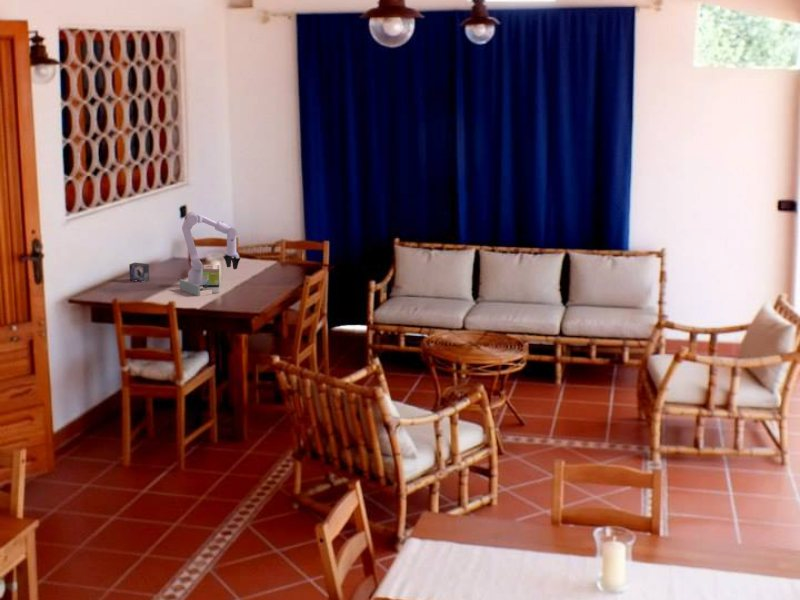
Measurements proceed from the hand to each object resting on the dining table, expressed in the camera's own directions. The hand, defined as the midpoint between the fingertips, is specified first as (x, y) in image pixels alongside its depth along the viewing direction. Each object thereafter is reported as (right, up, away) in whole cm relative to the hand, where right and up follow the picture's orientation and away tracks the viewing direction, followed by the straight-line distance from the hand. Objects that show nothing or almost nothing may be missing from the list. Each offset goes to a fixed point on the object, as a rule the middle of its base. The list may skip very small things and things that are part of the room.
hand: (231, 268), depth 715 cm
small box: (-58, -8, +6) cm, 59 cm away
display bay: (-18, -15, -24) cm, 34 cm away
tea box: (-9, -14, -20) cm, 26 cm away
